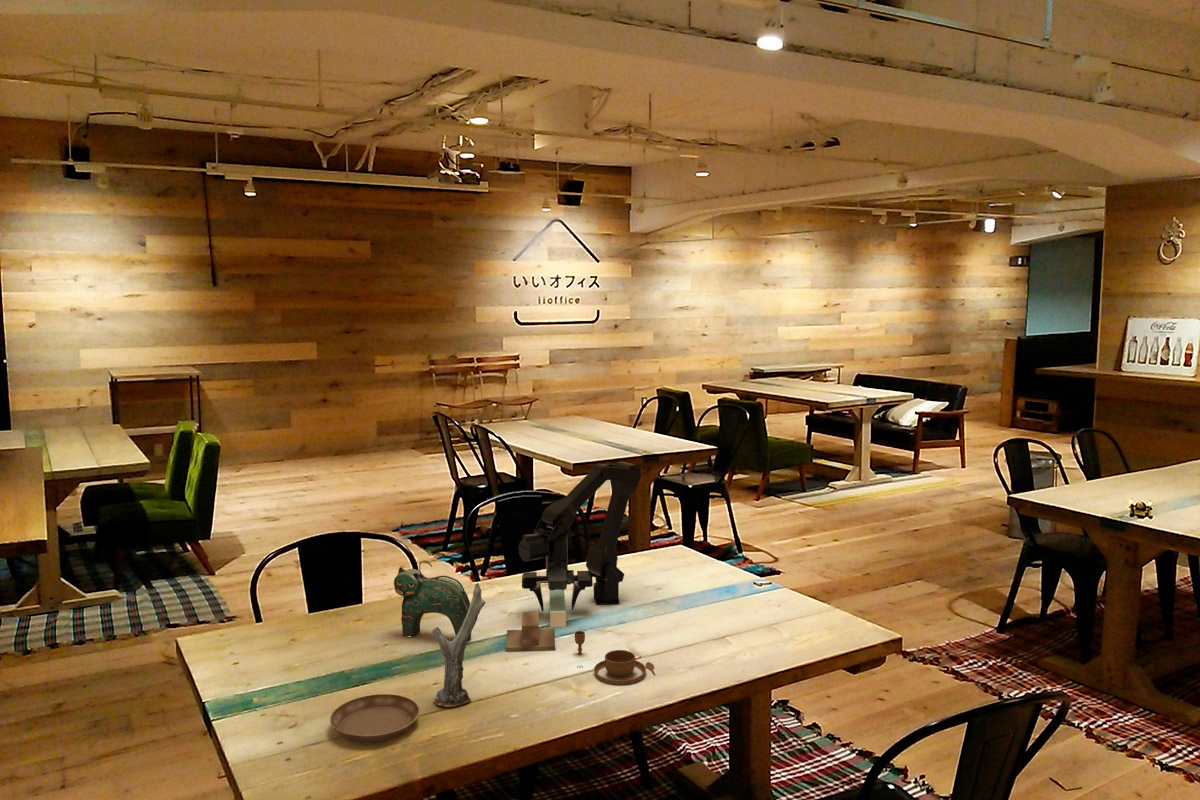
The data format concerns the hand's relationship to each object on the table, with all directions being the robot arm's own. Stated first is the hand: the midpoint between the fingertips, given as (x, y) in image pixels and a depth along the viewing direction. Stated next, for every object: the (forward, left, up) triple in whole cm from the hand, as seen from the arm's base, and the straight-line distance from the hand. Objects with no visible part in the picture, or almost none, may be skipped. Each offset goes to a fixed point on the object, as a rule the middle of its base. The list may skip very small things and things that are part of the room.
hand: (557, 610), depth 247 cm
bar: (0, 0, -1) cm, 1 cm away
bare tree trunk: (+22, +47, -1) cm, 52 cm away
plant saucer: (+38, +58, -2) cm, 69 cm away
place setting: (-13, +34, -2) cm, 36 cm away
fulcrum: (+7, +18, -1) cm, 19 cm away
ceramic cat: (+31, +13, -1) cm, 34 cm away
